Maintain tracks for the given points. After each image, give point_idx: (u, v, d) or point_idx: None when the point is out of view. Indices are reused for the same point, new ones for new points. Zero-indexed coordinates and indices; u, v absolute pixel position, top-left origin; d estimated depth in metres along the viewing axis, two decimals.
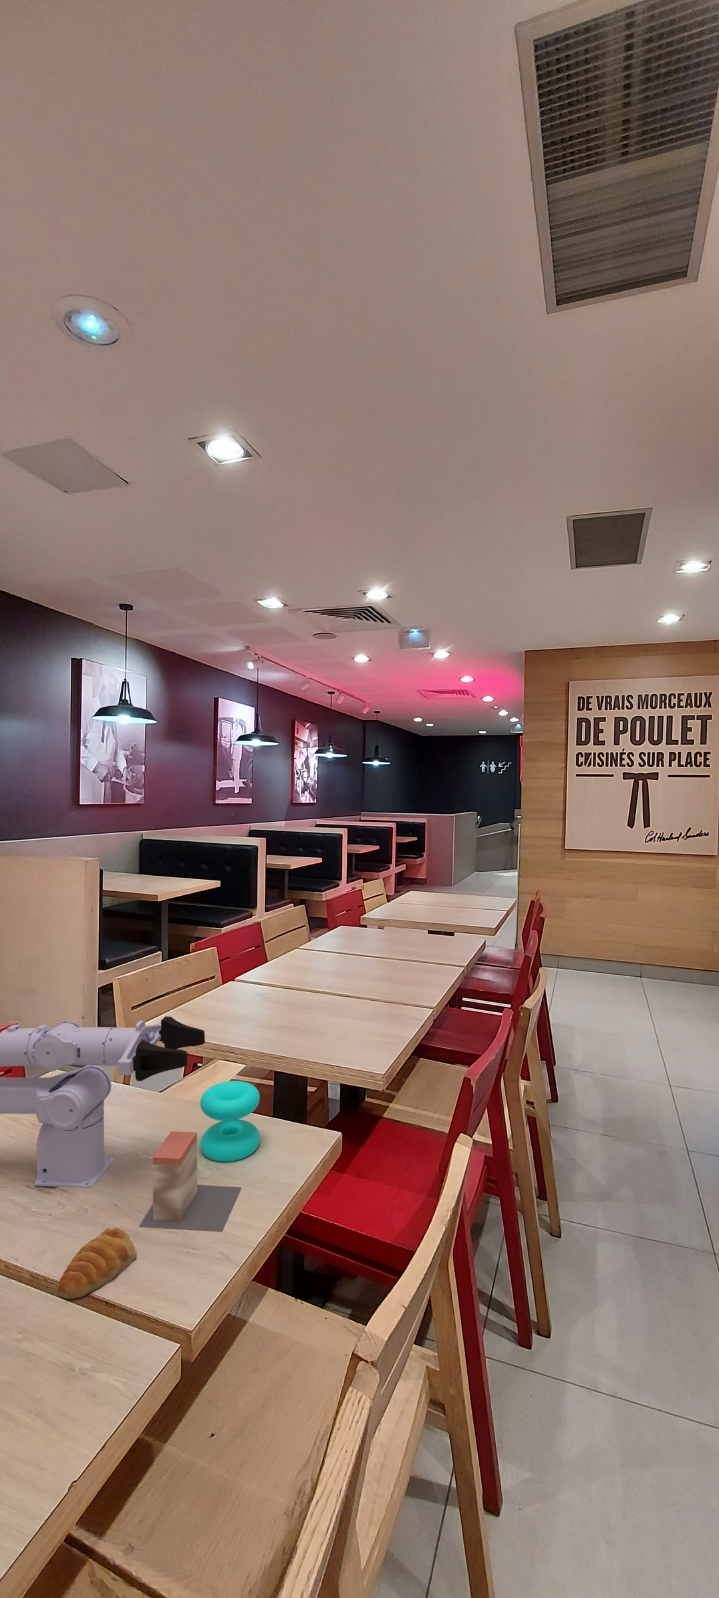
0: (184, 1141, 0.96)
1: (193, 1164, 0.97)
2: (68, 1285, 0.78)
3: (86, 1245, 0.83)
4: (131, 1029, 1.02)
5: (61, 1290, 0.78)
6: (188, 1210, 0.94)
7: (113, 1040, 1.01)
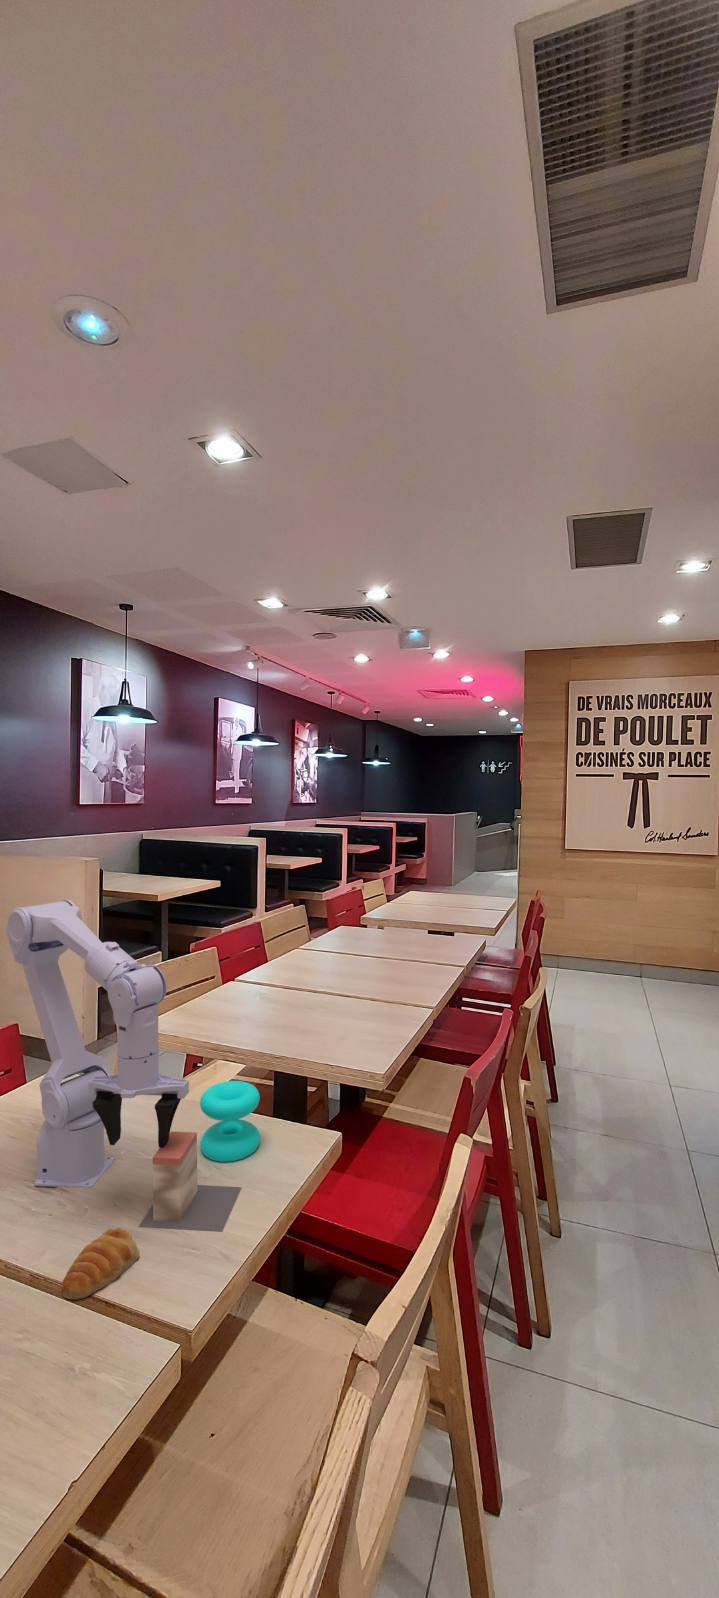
0: (184, 1141, 0.96)
1: (193, 1164, 0.97)
2: (72, 1285, 0.78)
3: (89, 1246, 0.83)
4: (129, 1082, 0.93)
5: (65, 1291, 0.78)
6: (188, 1210, 0.94)
7: (118, 1064, 0.94)
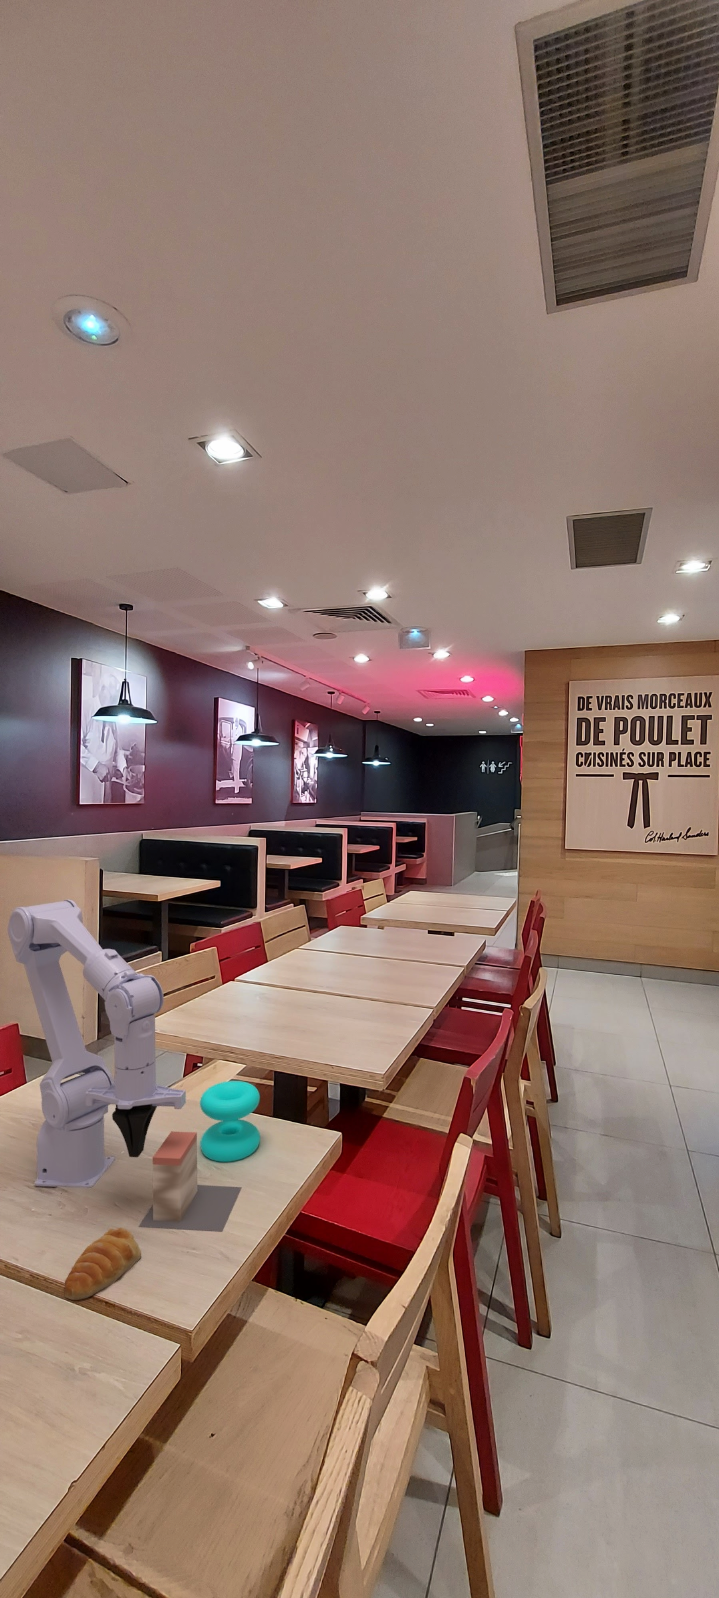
0: (184, 1141, 0.96)
1: (193, 1164, 0.97)
2: (74, 1286, 0.78)
3: (90, 1246, 0.83)
4: (126, 1092, 0.93)
5: (67, 1291, 0.78)
6: (188, 1210, 0.94)
7: (115, 1075, 0.94)
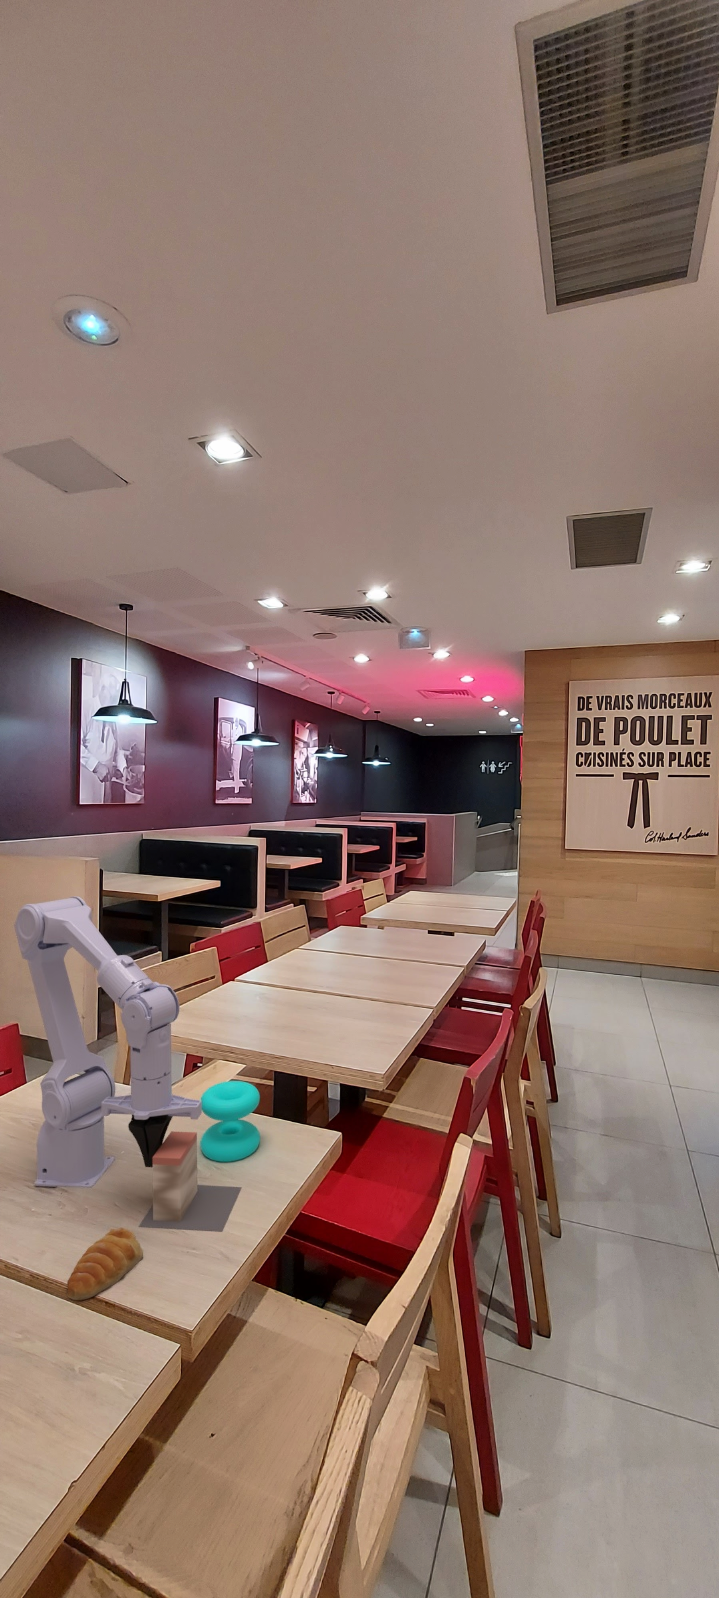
0: (184, 1141, 0.96)
1: (193, 1164, 0.97)
2: (77, 1286, 0.78)
3: (92, 1246, 0.83)
4: (142, 1103, 0.92)
5: (69, 1292, 0.78)
6: (188, 1210, 0.94)
7: (131, 1085, 0.94)
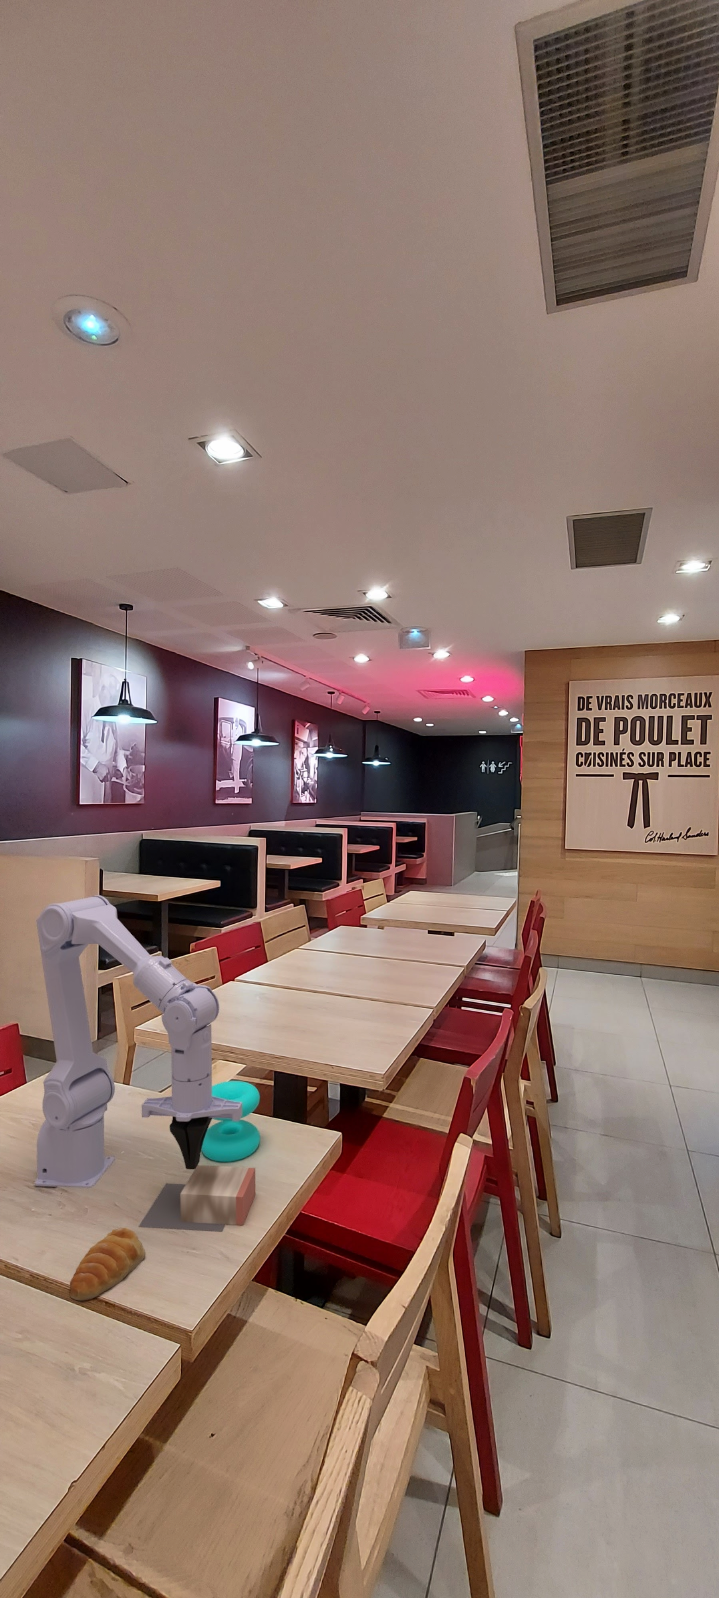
0: (251, 1199, 0.95)
1: None
2: (80, 1286, 0.78)
3: (94, 1246, 0.83)
4: (184, 1105, 0.92)
5: (72, 1292, 0.78)
6: None
7: (173, 1087, 0.93)
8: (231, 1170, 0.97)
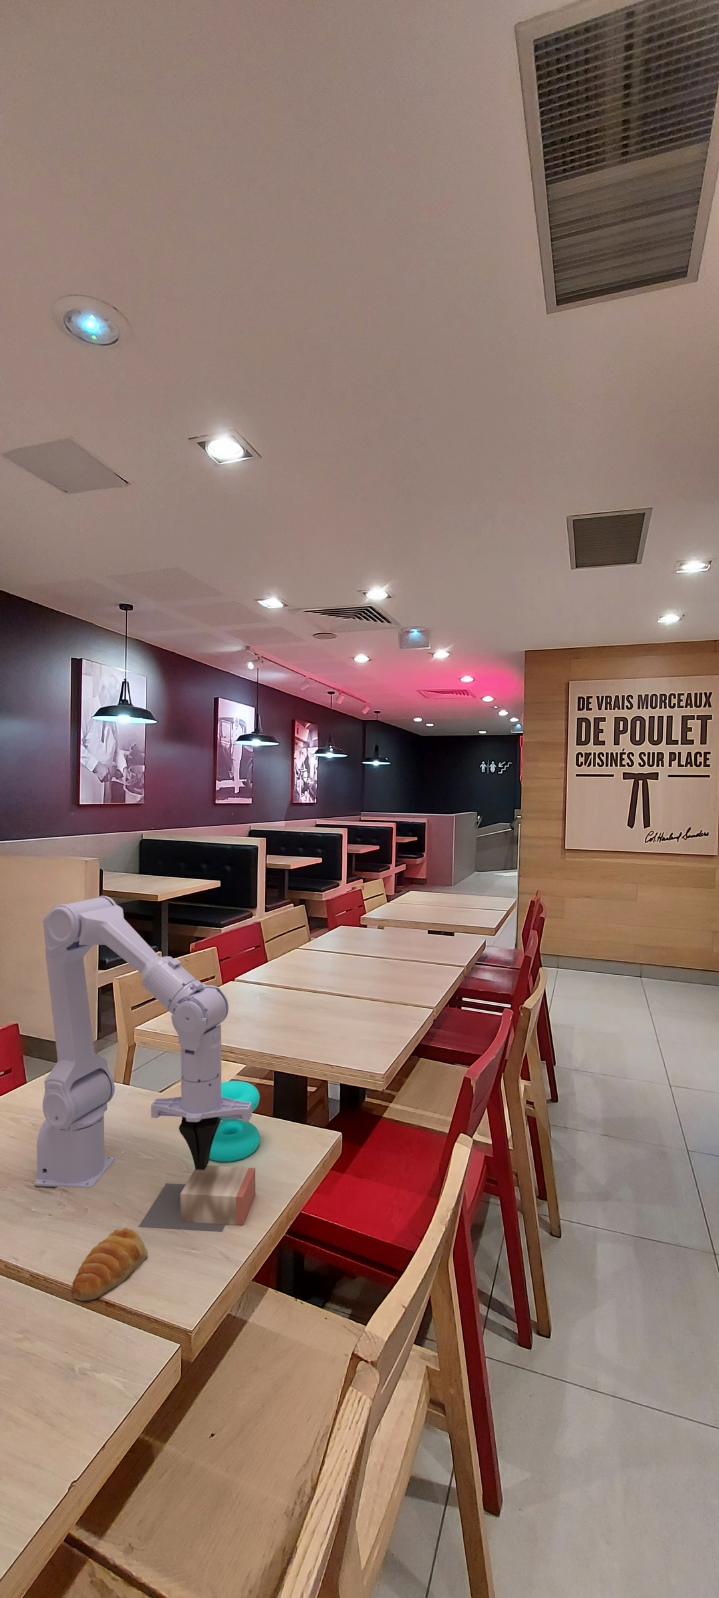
0: (251, 1199, 0.95)
1: None
2: (83, 1287, 0.78)
3: (97, 1247, 0.83)
4: (194, 1105, 0.92)
5: (75, 1293, 0.78)
6: None
7: (182, 1087, 0.93)
8: (231, 1170, 0.97)
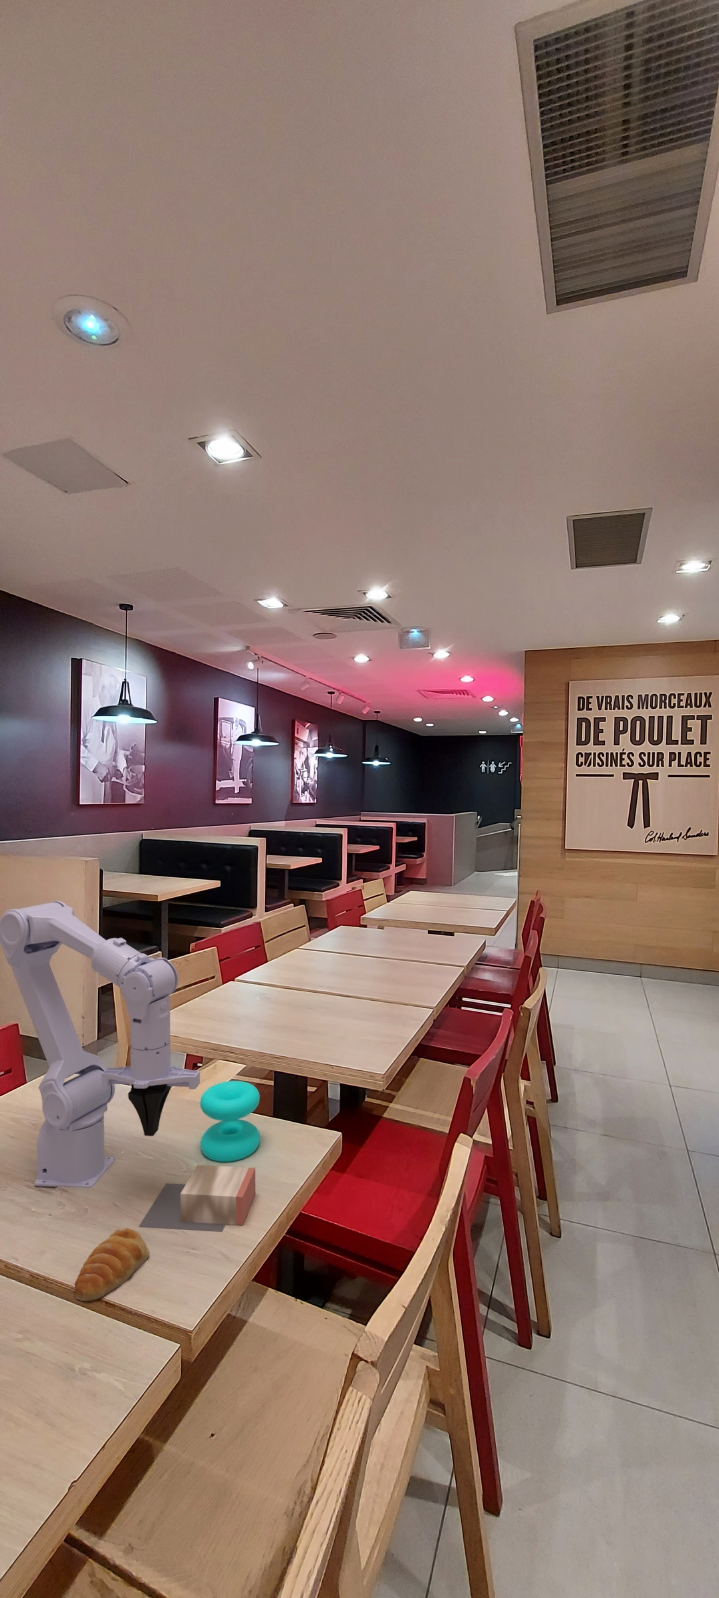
0: (251, 1199, 0.95)
1: None
2: (85, 1287, 0.78)
3: (98, 1247, 0.83)
4: (142, 1072, 0.94)
5: (78, 1293, 0.78)
6: None
7: (131, 1056, 0.96)
8: (231, 1170, 0.97)
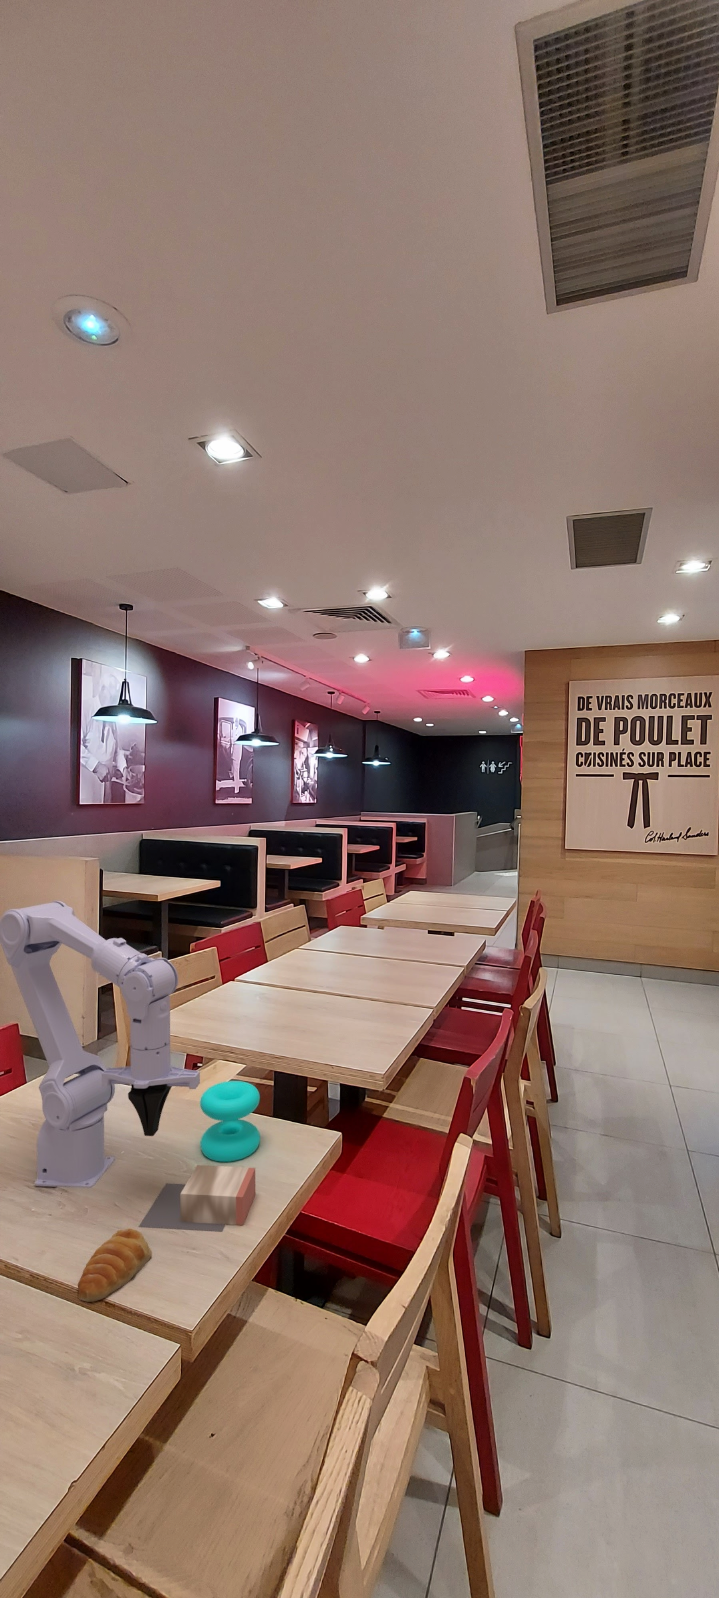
0: (251, 1199, 0.95)
1: None
2: (89, 1288, 0.78)
3: (101, 1248, 0.83)
4: (142, 1072, 0.94)
5: (81, 1294, 0.78)
6: None
7: (131, 1056, 0.96)
8: (231, 1170, 0.97)
